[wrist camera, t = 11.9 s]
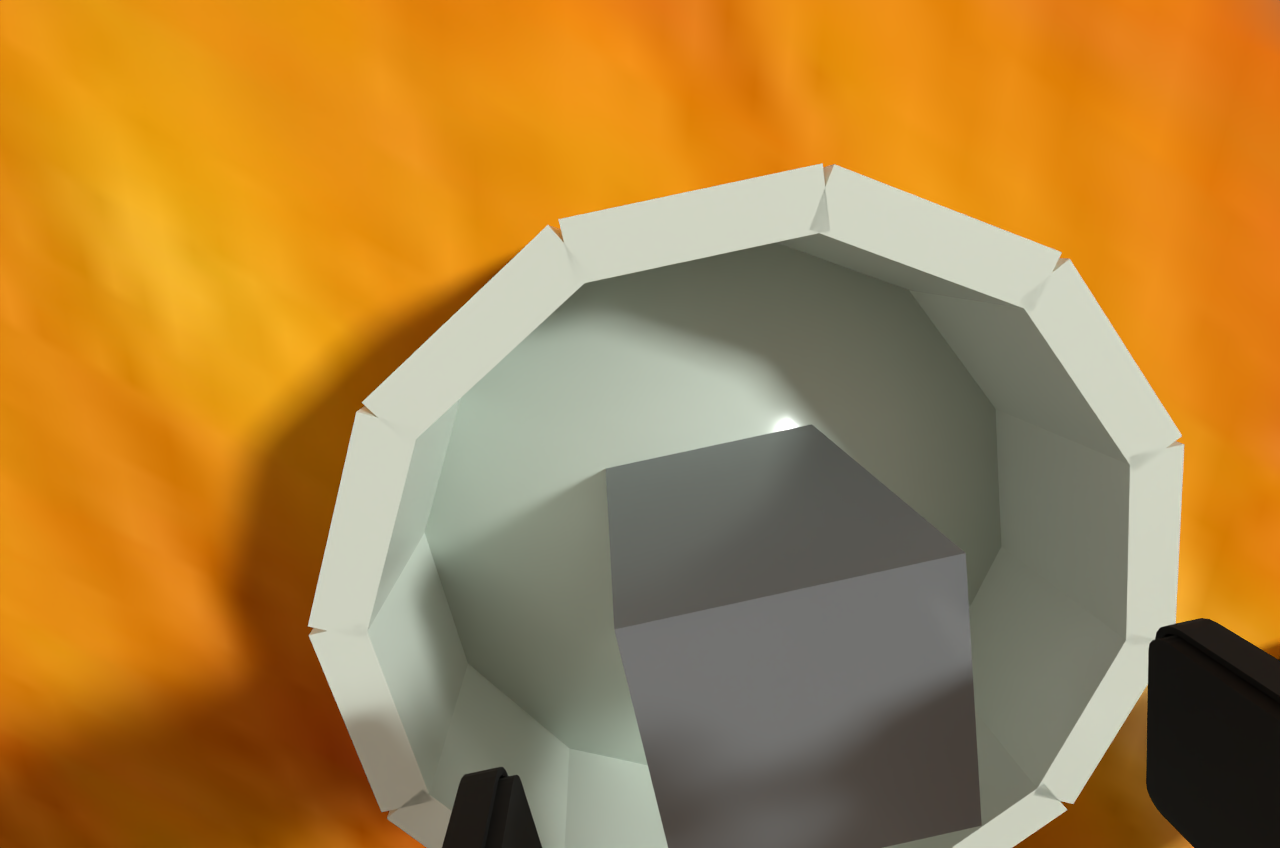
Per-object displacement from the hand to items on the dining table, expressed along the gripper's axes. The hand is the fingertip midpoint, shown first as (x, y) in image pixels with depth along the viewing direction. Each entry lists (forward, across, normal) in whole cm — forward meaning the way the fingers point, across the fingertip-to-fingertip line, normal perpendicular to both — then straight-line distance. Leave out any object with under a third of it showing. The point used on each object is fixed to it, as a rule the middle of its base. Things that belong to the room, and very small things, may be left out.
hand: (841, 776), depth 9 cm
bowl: (+8, 0, -1) cm, 8 cm away
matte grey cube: (+7, 0, 0) cm, 7 cm away
